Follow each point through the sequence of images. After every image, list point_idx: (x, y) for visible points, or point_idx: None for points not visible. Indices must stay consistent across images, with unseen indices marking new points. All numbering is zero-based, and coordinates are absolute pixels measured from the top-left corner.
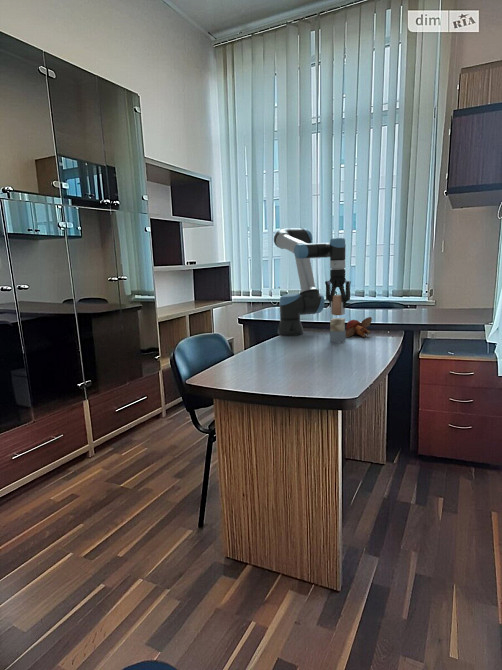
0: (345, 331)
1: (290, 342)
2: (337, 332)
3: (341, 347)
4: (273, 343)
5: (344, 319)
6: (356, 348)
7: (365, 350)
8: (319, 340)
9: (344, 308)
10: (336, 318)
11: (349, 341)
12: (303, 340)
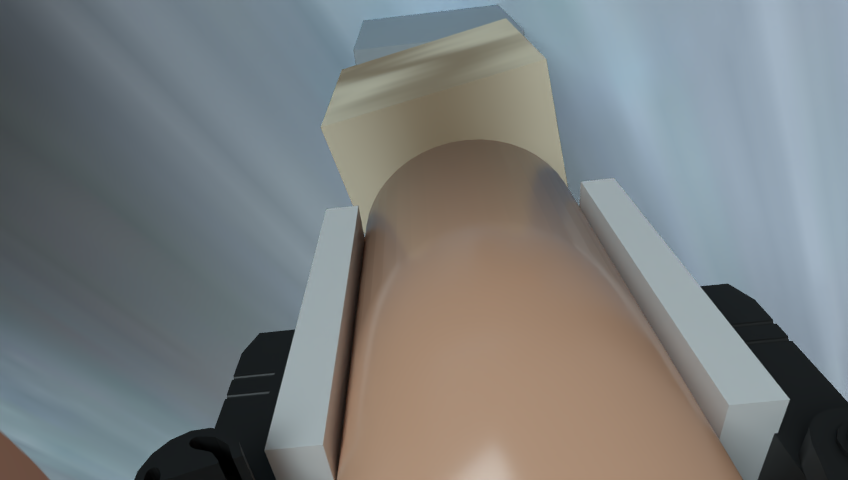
0: (518, 25)
1: (119, 339)
2: None
3: None
4: (59, 418)
5: (546, 82)
6: (715, 230)
7: (801, 247)
8: (249, 146)
9: (664, 262)
10: (405, 152)
11: (552, 6)
12: (129, 229)
